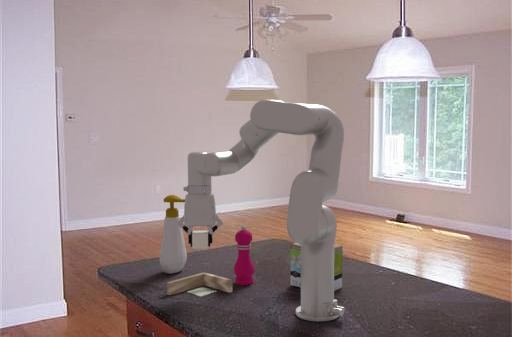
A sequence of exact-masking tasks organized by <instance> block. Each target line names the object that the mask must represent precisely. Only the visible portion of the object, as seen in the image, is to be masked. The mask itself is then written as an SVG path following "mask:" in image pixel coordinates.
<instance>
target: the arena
mask: <svg viewBox="0 0 512 337" xmlns="http://www.w3.org/2000/svg"><path fill="white" fill-rule="evenodd" d="M208 287H209V288H208ZM211 287H212V288H211ZM218 289H219V291H222V292H226V293H233V279H231V278H228V277H223V276H219V275H216V274H212V273H207V272H200V273H196V274H193V275H189V276H185V277H183V278H178V279H174V280H171V281H168V282H166V294H167V296H173V295H177V294H179V293H183V292H186V293H187V294H189V295H190V294H191V295H193V296H197V297H199V298H202V297H205V296H208V295H212V294H215V293H217V292H218V291H217V290H218ZM214 292H215V293H214ZM211 293H212V294H211Z"/></svg>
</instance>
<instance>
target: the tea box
mask: <svg viewBox="0 0 512 337" xmlns="http://www.w3.org/2000/svg"><path fill="white" fill-rule="evenodd" d="M301 246H302V245H301V244H298V243H296V242H294V243H290V250H289V251H290V252H289V254H290V260H289V261H290V263H289V264H290V265H289V266H290V268H289V271H290V274H289V276H290V286H293V287H298V288H301ZM341 288H343V245H339V244H335V246H334V292H335V291H337V290H340V289H341Z"/></svg>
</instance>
